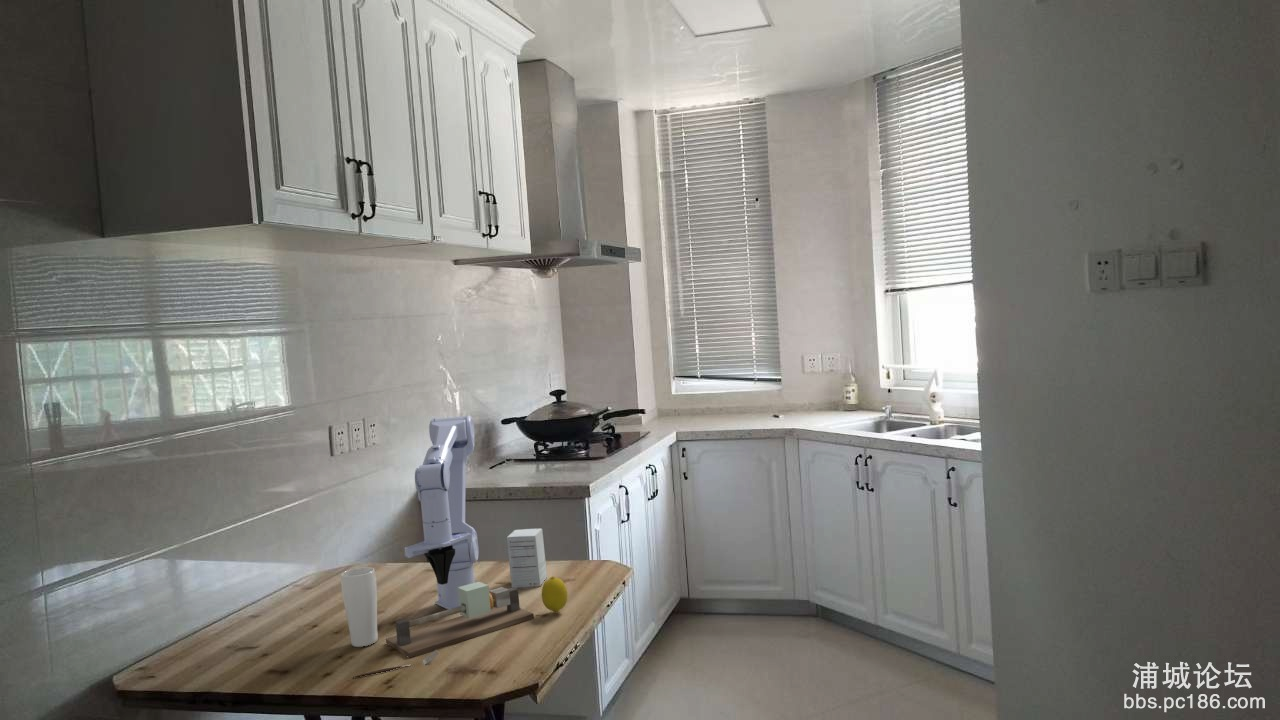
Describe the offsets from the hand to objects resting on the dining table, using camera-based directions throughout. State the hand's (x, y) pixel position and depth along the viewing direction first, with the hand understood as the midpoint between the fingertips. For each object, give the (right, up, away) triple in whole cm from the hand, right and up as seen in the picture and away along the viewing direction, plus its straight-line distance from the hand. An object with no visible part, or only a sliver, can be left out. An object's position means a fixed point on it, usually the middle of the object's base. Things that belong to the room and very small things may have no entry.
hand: (442, 583), depth 182 cm
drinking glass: (-15, -11, -5) cm, 19 cm away
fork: (-4, -11, -21) cm, 24 cm away
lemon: (+24, -7, +3) cm, 25 cm away
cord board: (+5, -9, -3) cm, 11 cm away
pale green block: (+7, -6, -1) cm, 9 cm away
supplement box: (+15, -7, +28) cm, 32 cm away
